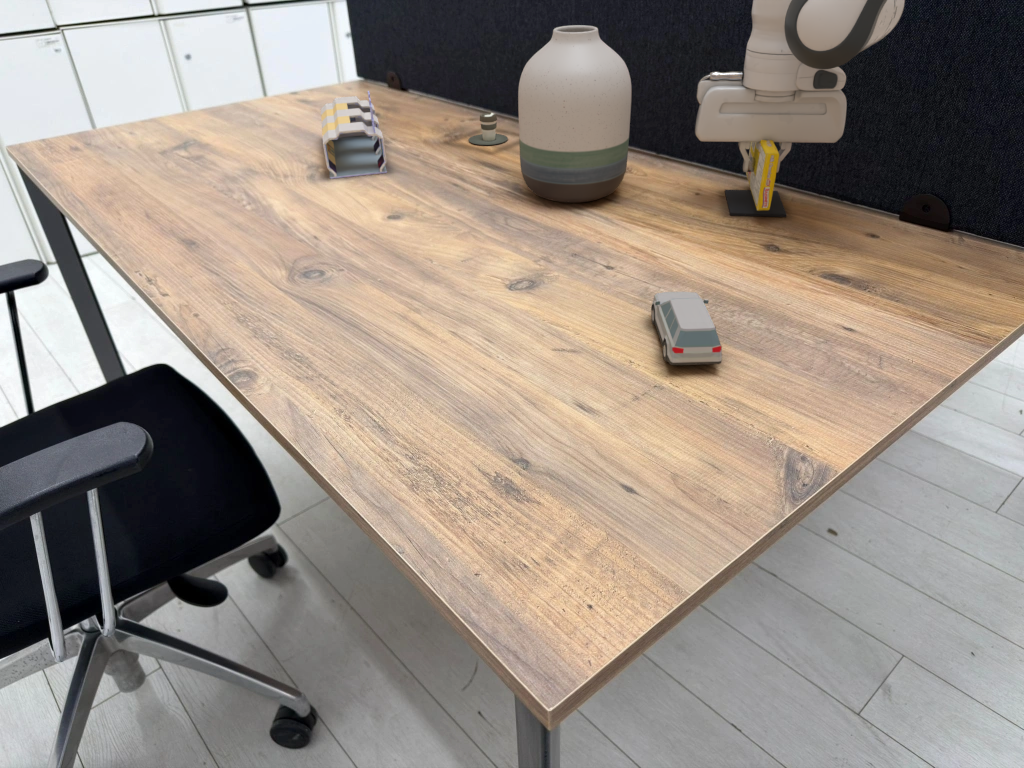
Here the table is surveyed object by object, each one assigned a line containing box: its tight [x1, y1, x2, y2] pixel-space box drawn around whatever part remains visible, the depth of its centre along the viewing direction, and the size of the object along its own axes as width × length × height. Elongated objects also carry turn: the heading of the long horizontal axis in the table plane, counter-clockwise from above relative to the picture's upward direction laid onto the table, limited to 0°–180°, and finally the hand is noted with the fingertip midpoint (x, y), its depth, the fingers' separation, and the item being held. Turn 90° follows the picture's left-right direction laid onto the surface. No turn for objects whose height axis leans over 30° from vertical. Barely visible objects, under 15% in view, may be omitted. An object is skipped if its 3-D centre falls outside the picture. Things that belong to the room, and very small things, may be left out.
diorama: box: [320, 90, 388, 179], centre depth 133 cm, size 25×10×13 cm, turn 13°
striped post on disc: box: [468, 112, 509, 146], centre depth 141 cm, size 12×12×5 cm
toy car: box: [650, 291, 723, 366], centre depth 76 cm, size 6×13×5 cm, turn 0°
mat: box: [724, 189, 788, 218], centre depth 110 cm, size 8×10×1 cm
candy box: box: [745, 140, 779, 211], centre depth 106 cm, size 16×2×8 cm, turn 171°
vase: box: [517, 24, 633, 204], centre depth 110 cm, size 17×17×24 cm
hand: (760, 171), depth 107 cm, fingers closed on candy box, 2 cm apart
